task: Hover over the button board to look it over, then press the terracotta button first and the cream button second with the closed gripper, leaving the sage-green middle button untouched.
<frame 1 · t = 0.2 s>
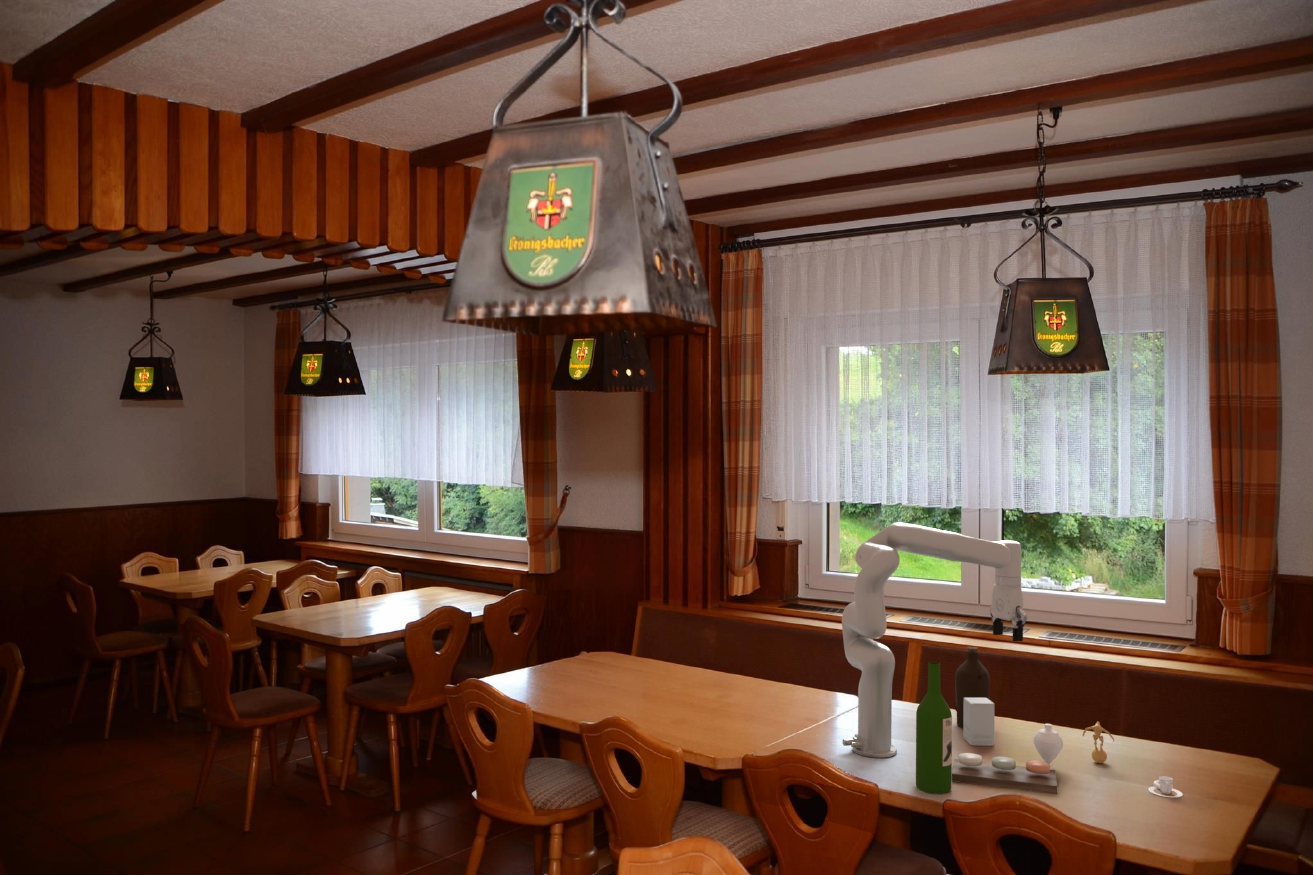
hand: (1007, 637, 293), 31 cm above the table, tool pointing down, fingers open, 9 cm apart
figurine: (1098, 764, 271), on the table
cream button: (970, 759, 261), point 4 cm above the table, slide at 0.0 cm
button board: (1003, 779, 258), on the table
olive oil: (972, 726, 307), on the table
supplement box: (978, 742, 290), on the table
wine bottle: (933, 788, 251), on the table
spinning top: (1048, 768, 268), on the table
terracotta button: (1037, 767, 255), point 4 cm above the table, slide at 0.0 cm
sage button: (1003, 763, 258), point 4 cm above the table, slide at 0.0 cm
teacup and saucer: (1175, 793, 250), on the table
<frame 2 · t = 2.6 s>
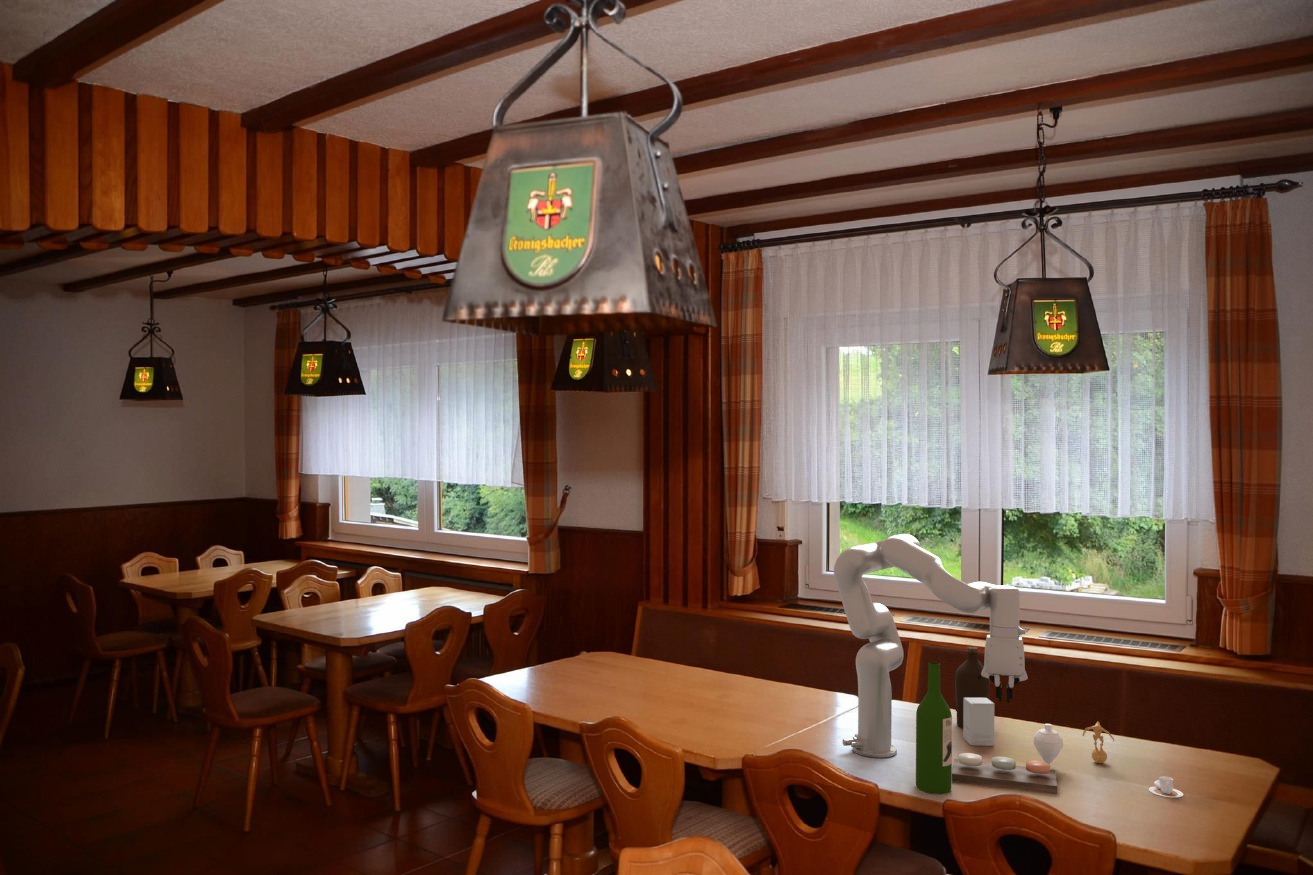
hand: (1004, 700, 258), 21 cm above the table, tool pointing down, fingers closed
nothing on the table moved.
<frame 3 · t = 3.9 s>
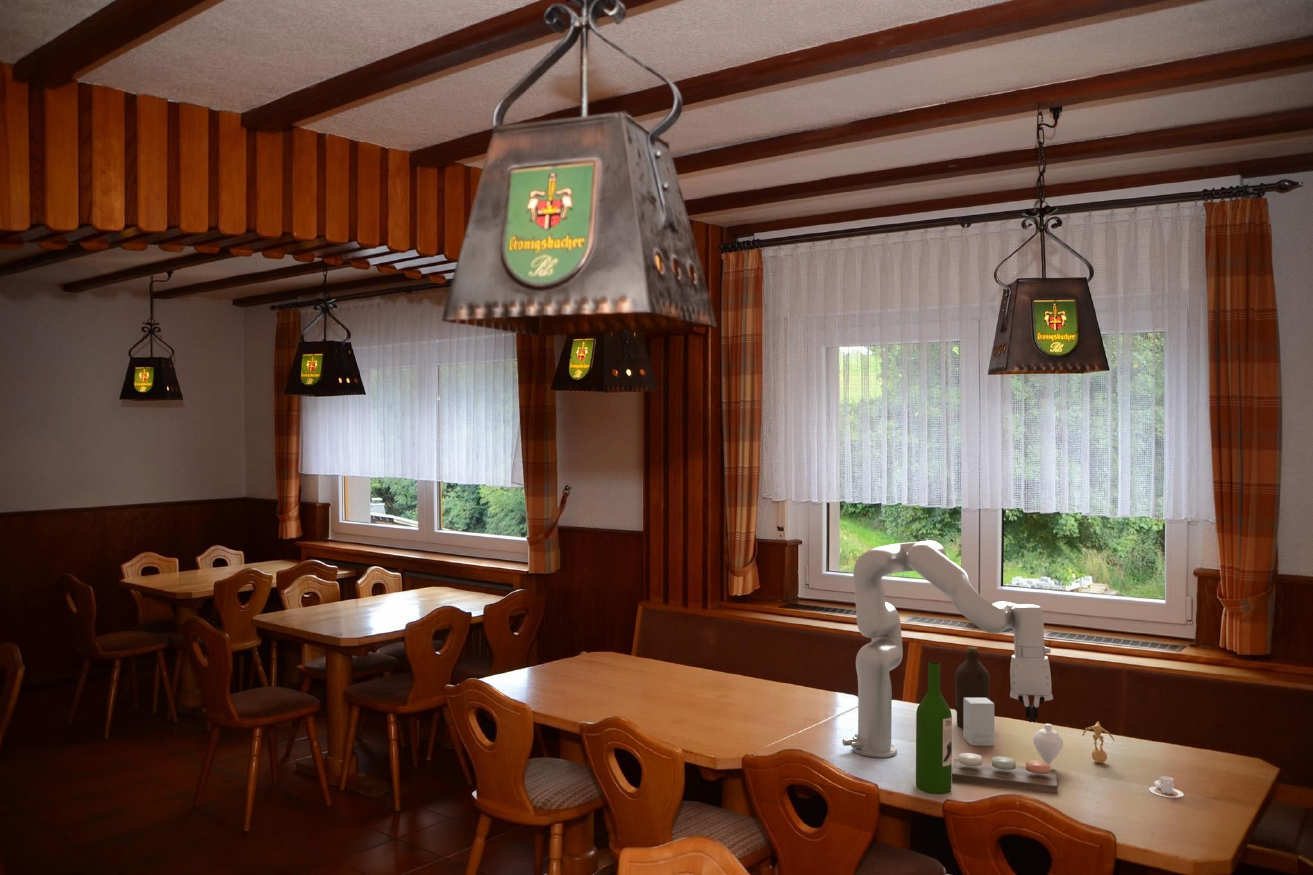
hand: (1032, 720, 255), 16 cm above the table, tool pointing down, fingers closed
nothing on the table moved.
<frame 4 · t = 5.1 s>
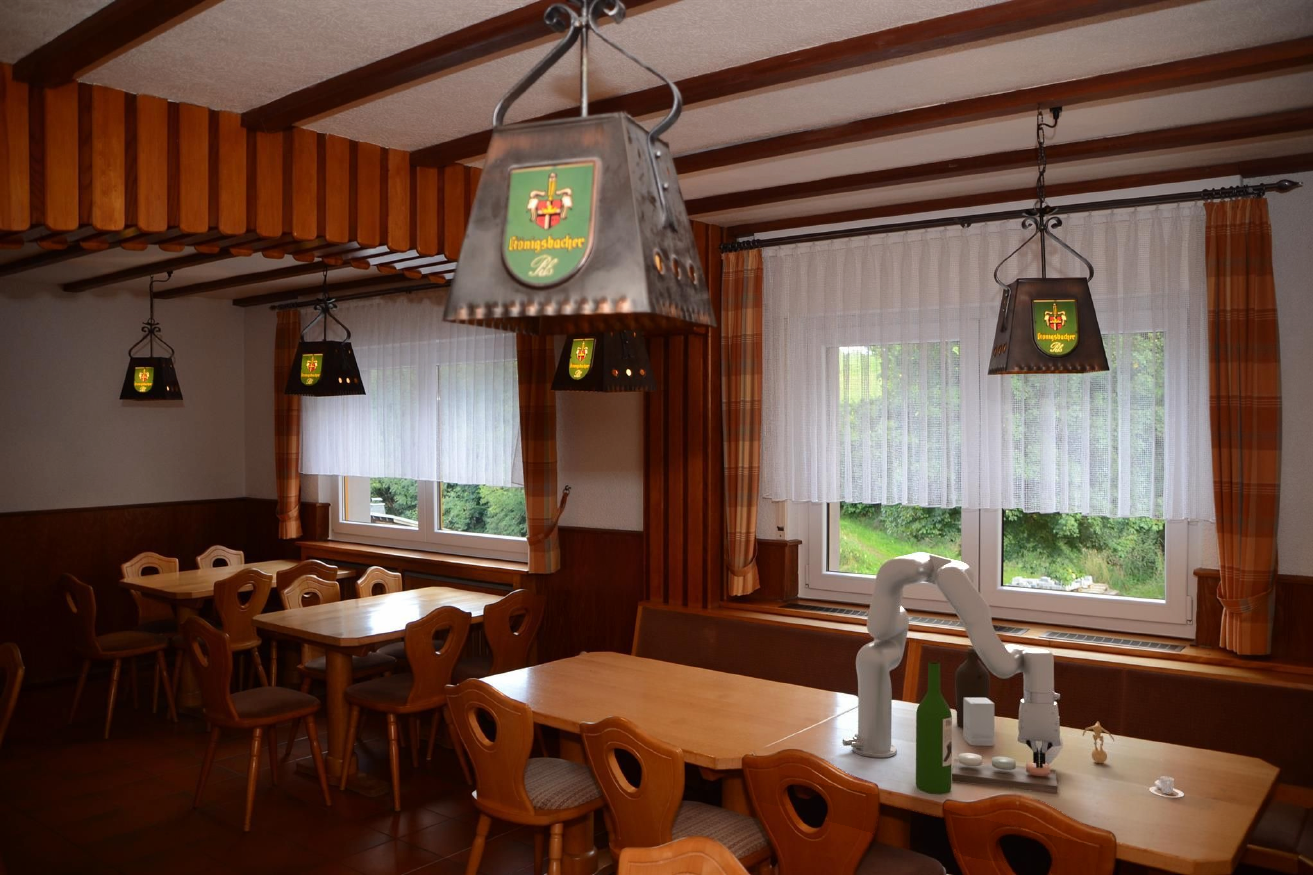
hand: (1039, 766, 255), 5 cm above the table, tool pointing down, fingers closed
terracotta button: (1037, 768, 255), point 4 cm above the table, slide at 0.5 cm, touching gripper
everything else where it was.
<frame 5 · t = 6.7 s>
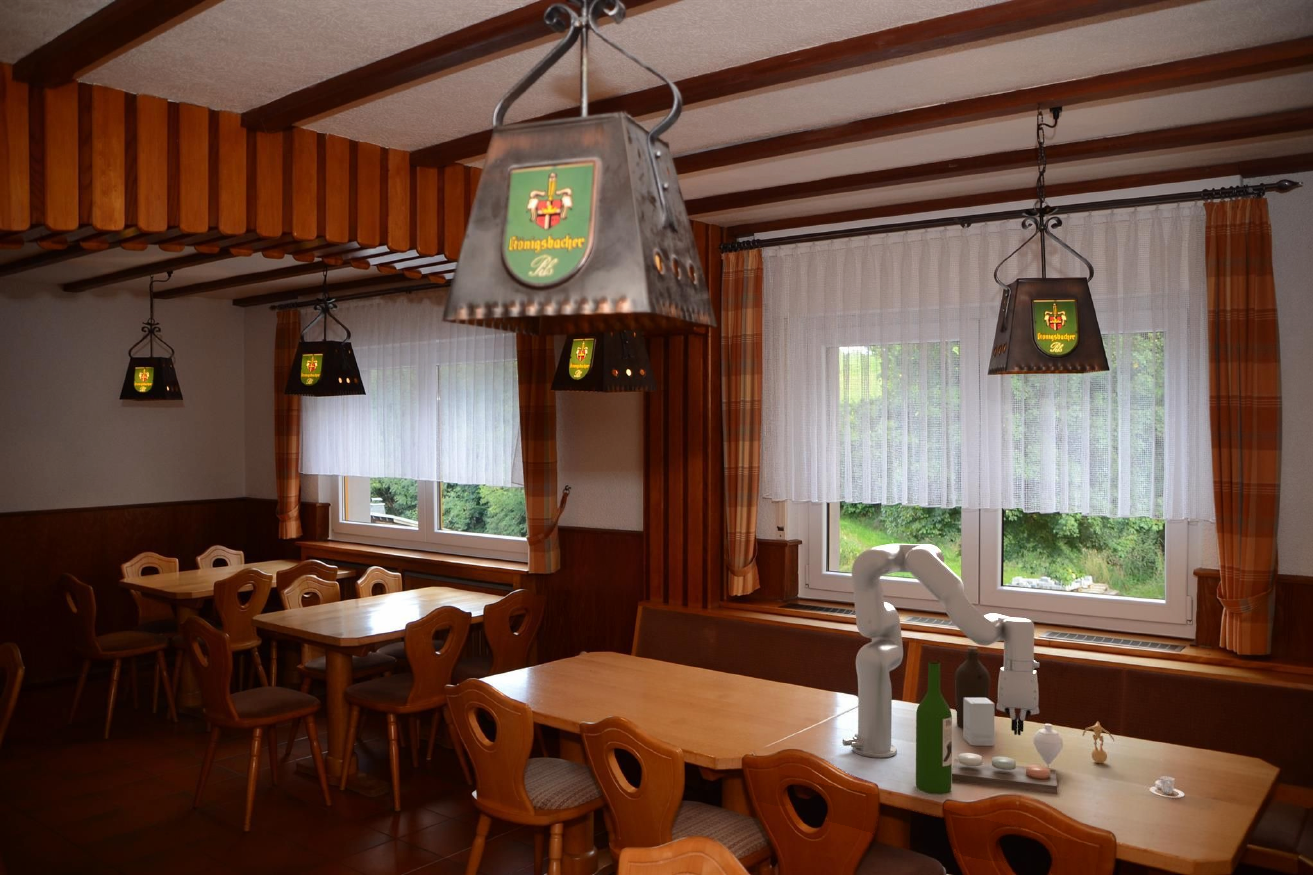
hand: (1017, 733, 257), 13 cm above the table, tool pointing down, fingers closed
terracotta button: (1037, 771, 255), point 3 cm above the table, slide at 1.2 cm
everything else where it was.
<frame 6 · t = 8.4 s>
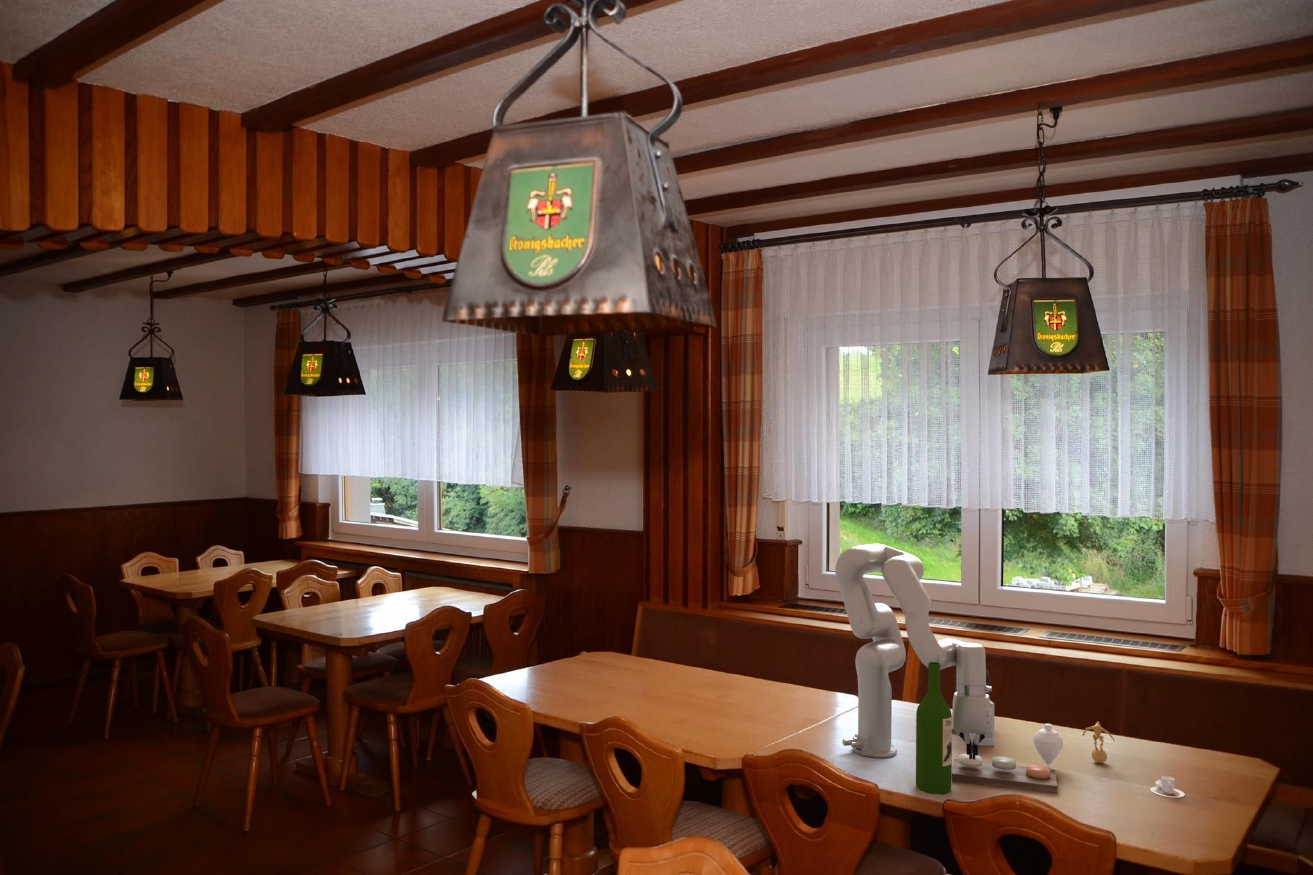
hand: (972, 757, 260), 5 cm above the table, tool pointing down, fingers closed
cream button: (970, 760, 261), point 4 cm above the table, slide at 0.2 cm, touching gripper
everything else where it was.
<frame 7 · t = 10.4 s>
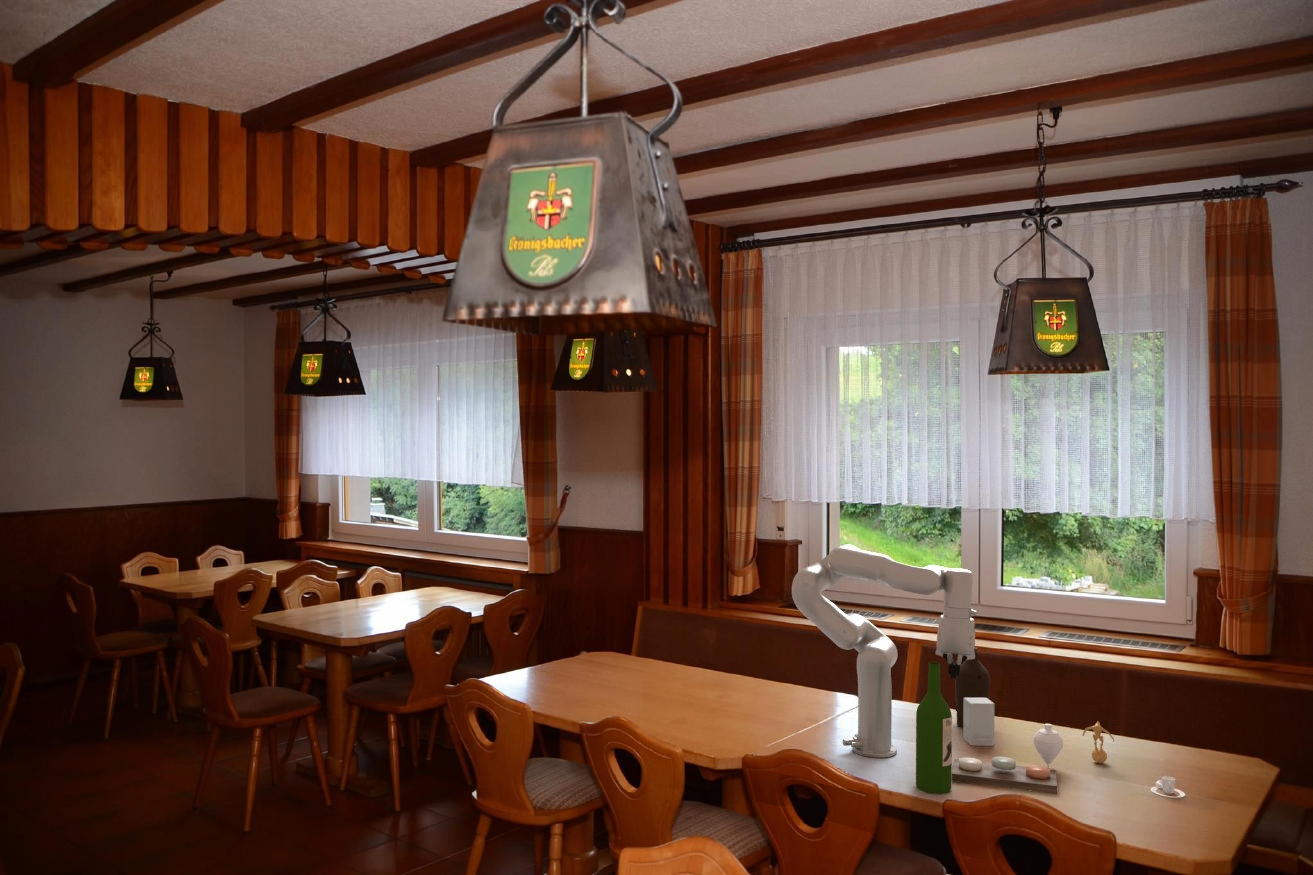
hand: (954, 677, 271), 24 cm above the table, tool pointing down, fingers closed
cream button: (970, 764, 261), point 3 cm above the table, slide at 1.2 cm
everything else where it was.
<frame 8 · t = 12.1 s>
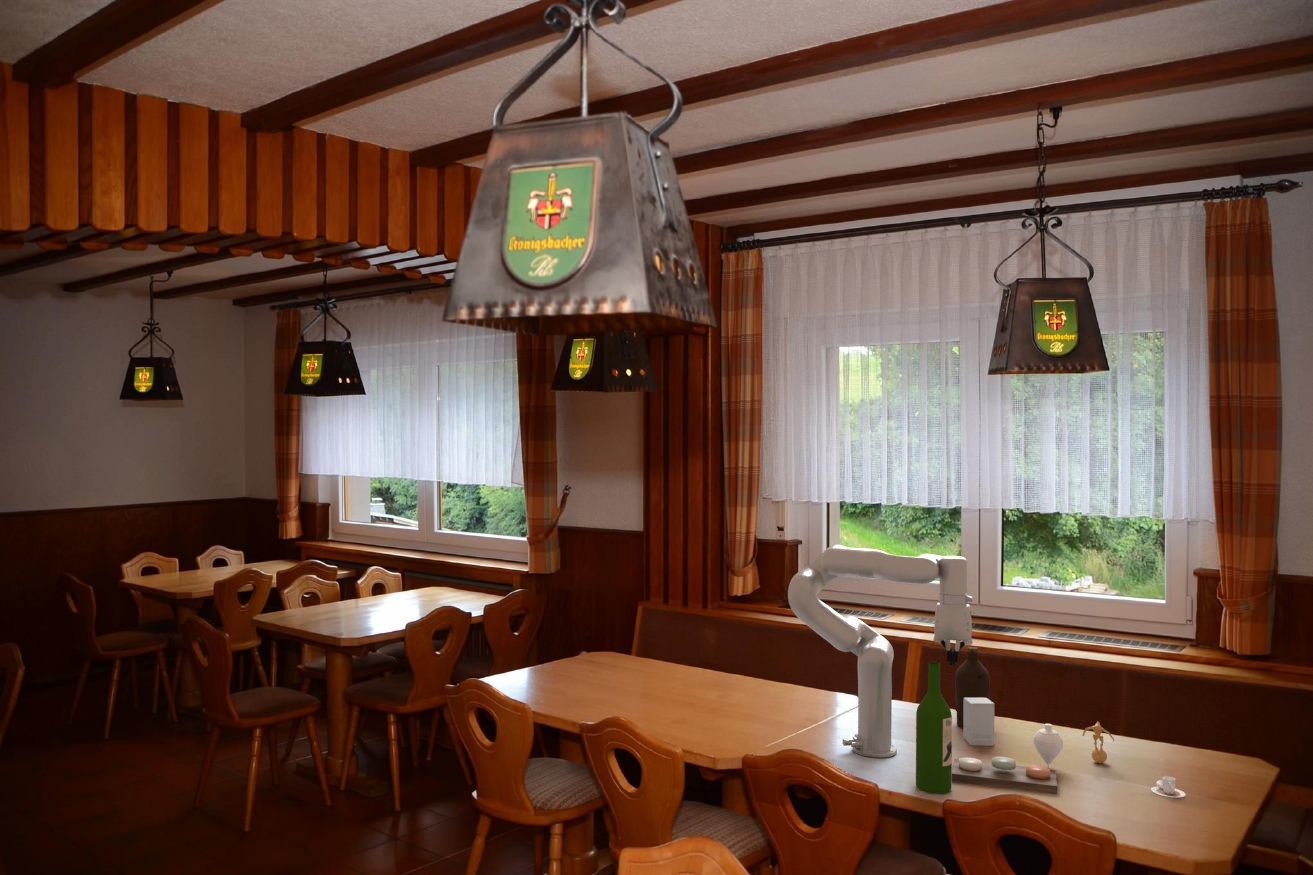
hand: (952, 664, 274), 27 cm above the table, tool pointing down, fingers closed
nothing on the table moved.
at the end: terracotta button slide at 1.2 cm; cream button slide at 1.2 cm; sage button slide at 0.0 cm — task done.
